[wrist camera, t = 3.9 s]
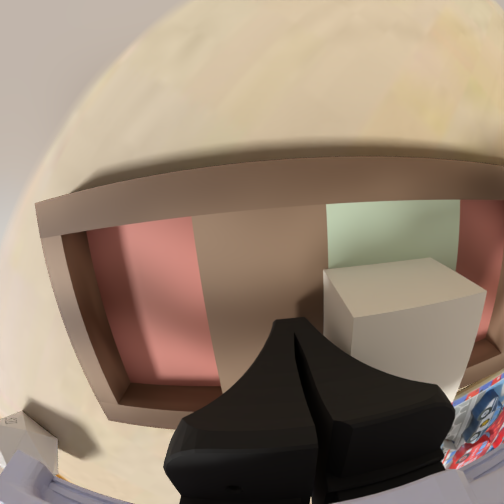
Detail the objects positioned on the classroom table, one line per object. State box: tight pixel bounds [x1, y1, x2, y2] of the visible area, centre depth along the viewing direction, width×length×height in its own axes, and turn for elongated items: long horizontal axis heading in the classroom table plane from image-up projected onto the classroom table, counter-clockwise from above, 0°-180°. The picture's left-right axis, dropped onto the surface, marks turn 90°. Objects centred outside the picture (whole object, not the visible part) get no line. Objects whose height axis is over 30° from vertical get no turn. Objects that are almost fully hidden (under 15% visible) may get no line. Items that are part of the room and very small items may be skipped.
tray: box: [35, 156, 504, 430], centre depth 13 cm, size 14×28×2 cm, turn 96°
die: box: [0, 411, 58, 476], centre depth 16 cm, size 8×9×10 cm
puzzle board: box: [441, 369, 504, 470], centre depth 18 cm, size 30×23×3 cm
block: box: [323, 257, 487, 403], centre depth 9 cm, size 5×5×4 cm
